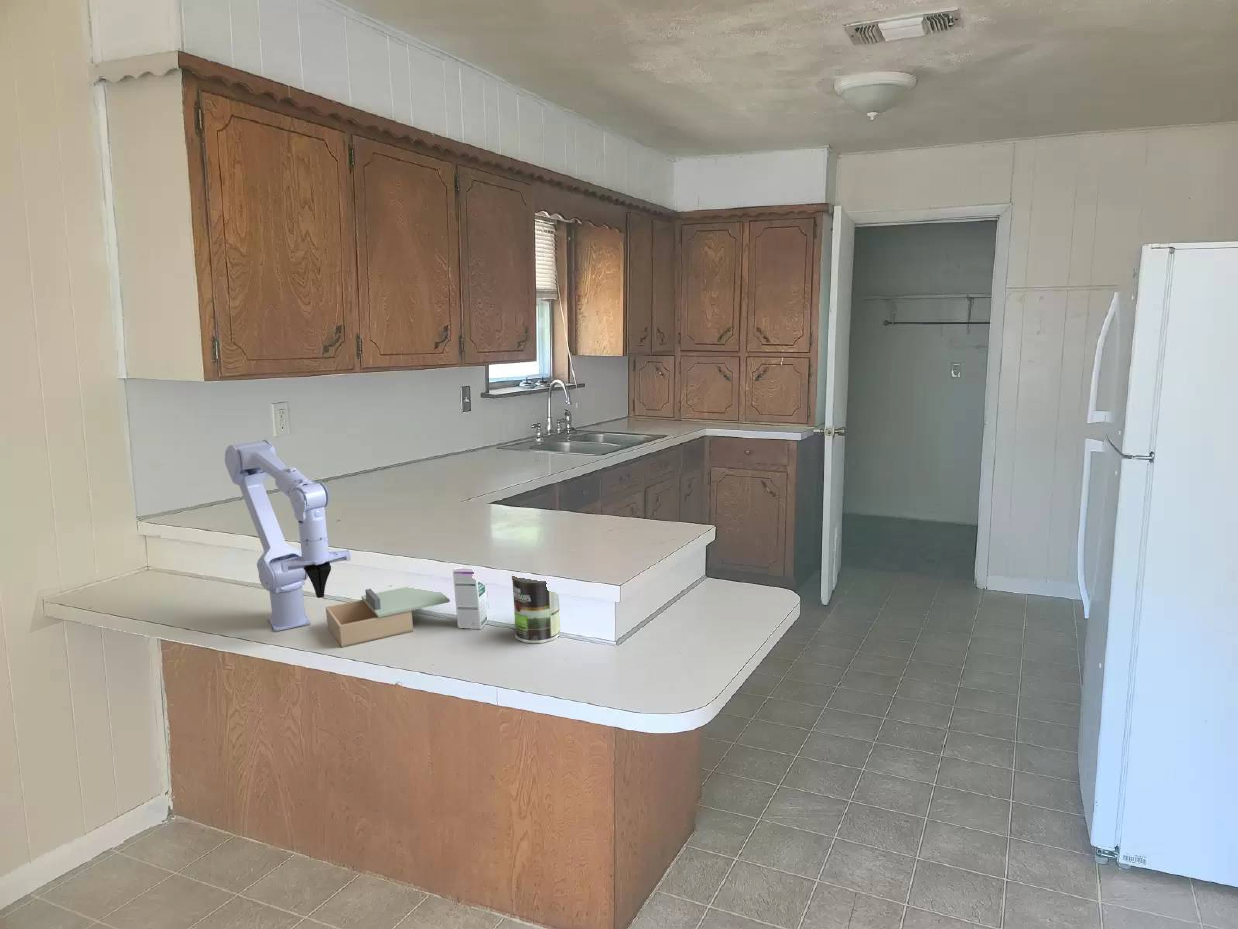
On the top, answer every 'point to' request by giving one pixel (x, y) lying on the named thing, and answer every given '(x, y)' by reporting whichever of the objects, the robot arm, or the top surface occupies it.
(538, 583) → the coffee can
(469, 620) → the syrup box
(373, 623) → the mailer box
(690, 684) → the top surface
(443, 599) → the lid
